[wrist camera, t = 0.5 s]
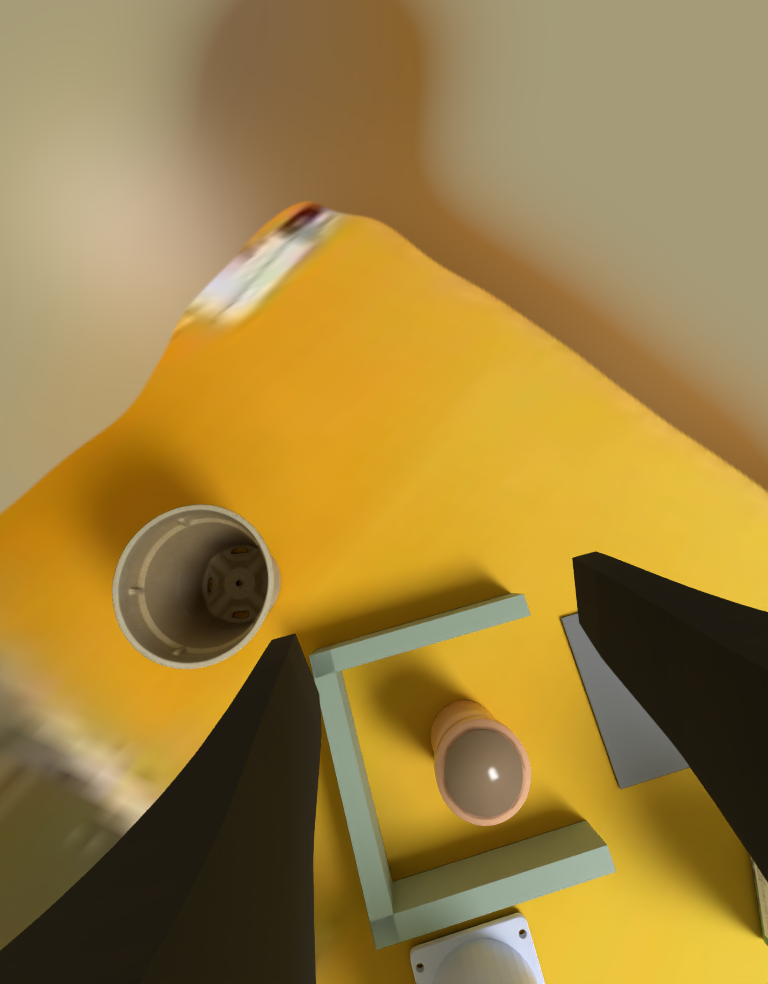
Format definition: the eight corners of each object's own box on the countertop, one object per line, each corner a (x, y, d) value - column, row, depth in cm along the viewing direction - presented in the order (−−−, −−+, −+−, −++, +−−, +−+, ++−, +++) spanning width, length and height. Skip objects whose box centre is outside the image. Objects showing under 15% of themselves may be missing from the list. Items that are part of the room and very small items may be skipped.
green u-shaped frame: (593, 844, 30) (616, 871, 27) (377, 913, 30) (376, 950, 27) (511, 593, 34) (523, 593, 31) (315, 649, 33) (308, 656, 30)
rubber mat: (737, 750, 32) (738, 751, 31) (619, 788, 31) (620, 789, 31) (670, 585, 34) (672, 585, 34) (560, 618, 33) (561, 618, 33)
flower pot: (208, 671, 33) (146, 701, 24) (160, 558, 35) (88, 549, 26) (321, 610, 34) (300, 618, 25) (269, 503, 35) (233, 477, 27)
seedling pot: (514, 767, 31) (544, 810, 25) (439, 790, 31) (452, 839, 25) (490, 686, 33) (513, 709, 27) (417, 708, 32) (424, 736, 26)
